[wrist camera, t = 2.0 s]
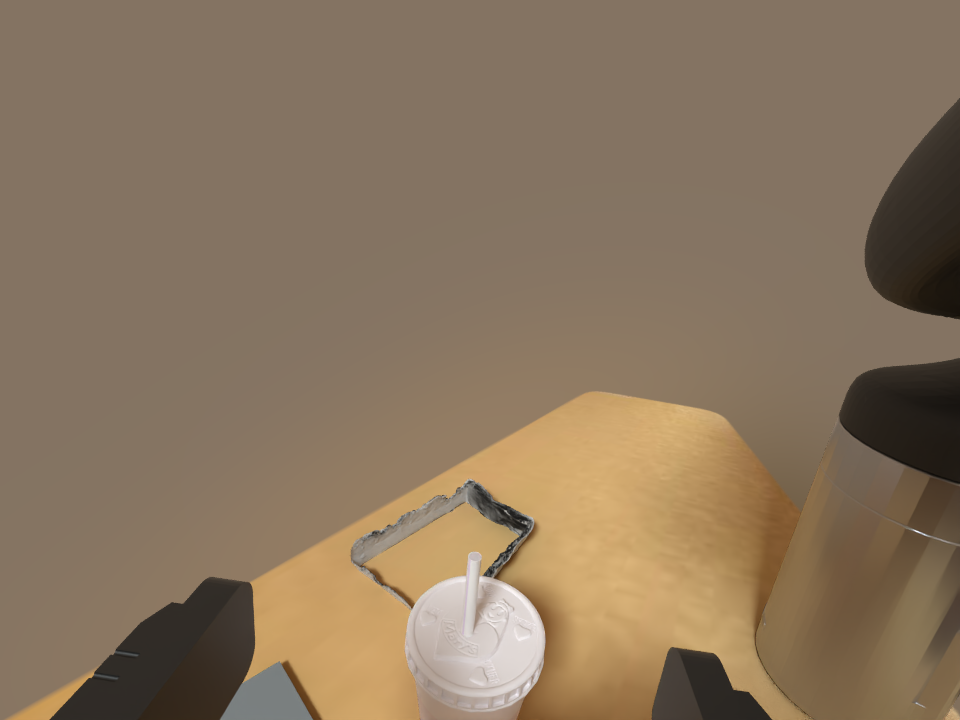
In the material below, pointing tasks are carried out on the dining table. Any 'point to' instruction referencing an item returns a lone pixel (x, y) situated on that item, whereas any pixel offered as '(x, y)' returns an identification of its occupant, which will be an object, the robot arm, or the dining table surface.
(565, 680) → the dining table surface
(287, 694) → the mat
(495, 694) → the smoothie
